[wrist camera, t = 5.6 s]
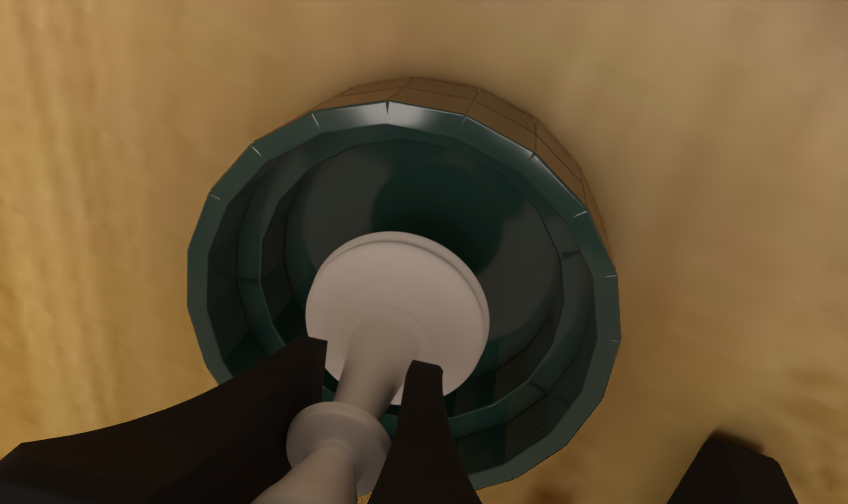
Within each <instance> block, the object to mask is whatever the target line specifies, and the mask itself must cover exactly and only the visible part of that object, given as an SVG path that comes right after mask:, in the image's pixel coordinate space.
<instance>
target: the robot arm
mask: <svg viewBox="0 0 848 504" xmlns="http://www.w3.org/2000/svg"><path fill="white" fill-rule="evenodd" d="M327 344H328V341H327V340H322V339H318V338H313V337H309V336H304V335H301V336H300V337H298V338H297V339H295V340H293V341H292V342H290V343H288V344H287V345H285V346H284V347H282V348H281V349H279V350H278V351H276V352H275V353H273V354H271V355H270V356H268V357H267V358H265V359H264V360H262V361H260V362H259V363H257V364H256V365H254V366H252V367H251V368H249V369H247V370H246V371H244V372H242V373H241V374H239V375H237V376H235V377H233V378H232V379H230V380H228V381H226V382H224V383H222V384H220V385H219V386H217V387H215V388H213V389H211V390H209V391H207V392H205V393H203V394H201V395H198V396H196V397H194V398H192V399H189V400H187V401H185V402H182V403H180V404H177V405H175V406H173V407H170V408H167V409H165V410H162V411H158V412H155V413H152V414H149V415H146V416H143V417H140V418H137V419H134V420H131V421H128V422H125V423H121V424H117V425H114V426H110V427H106V428H102V429H98V430H93V431H89V432H85V433H80V434H75V435H69V436H63V437H57V438H51V439H45V440H39V441H33V442H25V443H21V444H19V445H18V446H17V447H16V448H14V449H13V450H12V451H11V452H10V453H8V454H7V455H6V456H5V457H4V458H3V459H1V460H0V504H251V503H252V502H253V501H254V500H255V499H256V498H257V497H258V496H259V495H260V494H261V493H263V492H264V491H265V490H266V489H267V488H269V487H270V486H272V485H274V484H276V483H277V482H278V481H279V480H281V479H282V478H283V477H284V476H285V475H286V474H287V473H288V472H289V471H290V470H291V469H292V467H291V465H290V463H289V461H288V458H287V453H286V441H287V432H288V429H289V426H290V424H291V422H292V420H293V419H294V417H295V416H296V415H297V414H298V413H299V412H300V411H302V410H303V409H305V408H307V407H308V406H311V405H313V404H317V403H321V400H322V391H323V381H324V372H325V363H326V353H327ZM442 378H443V370H442V368H441V367H440V365H436V364H431V363H427V362H422V361H418V360H412V362H411V364H410V366H409V368H408V371H407V373H406V377H405V382H404V388H403V394H402V399H401V405H400V411H399V416H398V422H397V427H396V431H395V435H394V439H393V441H392V444H391V447H390V449H389V452H388V455H387V457H386V460H385V463H384V465H383V468H382V470H381V473H380V475H379V478H378V480H377V483H376V485H375V487H374V490H373V492H372V494H371V496H370V499H369V501H368V503H367V504H482V502H481V501H480V499H479V497H478V496H477V494H476V492H475V490H474V488H473V486H472V484H471V482H470V480H469V477H468V475H467V473H466V471H465V469H464V466H463V464H462V461H461V459H460V456H459V453H458V451H457V448H456V445H455V442H454V439H453V435H452V432H451V428H450V425H449V420H448V416H447V412H446V407H445V402H444V395H443V384H442Z"/></svg>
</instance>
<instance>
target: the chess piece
mask: <svg viewBox="0 0 848 504" xmlns="http://www.w3.org/2000/svg"><path fill="white" fill-rule="evenodd" d="M306 327H307V332H308V336H309V337H313V338H318V339H322V340H327V341H328V344H327V353H326V363H325V368H326V369H327V370H328V371H329V373H330V374H331V375H332V376H333V377H334V378H336V379H337V380H338V381H339V383H338V387H337V390H336V393H335V397H334V399H333V402H321V403H317V404H313V405H311V406H308V407H307V408H305V409H303V410H302V411H300V412H299V413H298V414H297V415H296V416H295V417H294V419H293V420H292V422H291V424H290V426H289V429H288V432H287V441H286V453H287V458H288V461H289V463H290V465H291V467H292V469H291V470H290V471H289V472H288V473H287V474H286V475H285V476H284V477H283V478H282V479H281V480H279V481H278V482H277V483H276V484H274V485H272V486H270V487H269V488H267V489H266V490H265V491H264V492H263V493H261V494H260V495H259V496H258V497H257V498H256V499H255V500H254V501H253V502H252V503H251V504H357V497H360V496H363V495H366V494H368V493H370V492H372V491H373V490H374V487H375V485H376V483H377V480H378V478H379V475H380V473H381V470H382V468H383V465H384V463H385V460H386V457H387V455H388V452H389V449H390V447H391V444H392V442H391V439H390V437H389V435H388V433H387V432H386V430H385V429H384V427H383V426H382V425H381V424H380V421H381V419H382V417H383V415H384V414H385V412H386V410H387V409H388V407H389V405H390V404H394V405H401V399H402V394H403V388H404V382H405V377H406V373H407V371H408V368H409V366H410V364H411V362H412V360H418V361H422V362H427V363H431V364H436V365H440V367H441V368H442V370H443V378H442V384H443V395H444V396H445V395H447V394H449V393H450V392H452V391H453V390H455V389H456V388H457V387H459V386H460V385H461V384H462V383H463V382H464V381H465V380H466V379H467V378H468V377H469V376H470V374H471V373H472V372H473V370H474V368H475V367H476V365H477V363H478V361H479V359H480V357H481V355H482V353H483V351H484V348H485V345H486V342H487V339H488V334H489V310H488V304H487V301H486V297H485V295H484V292H483V290H482V287H481V285H480V283H479V282H478V280H477V278H476V277H475V275H474V274H473V272H472V271H471V270H470V269H469V267H468V266H467V265H466V264H465V263H464V262H463V261H462V260H461V259H460V258H459V257H458V256H456V255H455V254H454V253H453V252H451V251H450V250H448V249H447V248H445V247H444V246H442V245H440V244H439V243H437V242H435V241H432V240H430V239H428V238H425V237H422V236H419V235H415V234H411V233H405V232H394V231H386V232H376V233H371V234H366V235H363V236H360V237H357V238H355V239H353V240H350V241H349V242H347V243H345V244H343V245H342V246H340V247H339V248H338V249H336V250H335V251H334V252H333V253H332V254H331V255H330V256H329V257H328V258H327V259H326V260H325V261H324V263H323V264H322V266H321V267H320V269H319V270H318V272H317V274H316V276H315V279H314V282H313V284H312V286H311V289H310V292H309V295H308V299H307V304H306Z"/></svg>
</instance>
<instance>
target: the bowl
mask: <svg viewBox="0 0 848 504" xmlns="http://www.w3.org/2000/svg"><path fill="white" fill-rule="evenodd" d="M386 231H394V232H405V233H411V234H415V235H419V236H422V237H425V238H428V239H430V240H432V241H435V242H437V243H439V244H440V245H442V246H444V247H445V248H447V249H448V250H450V251H451V252H453V253H454V254H455V255H456V256H458V257H459V258H460V259H461V260H462V261H463V262H464V263H465V264H466V265H467V266H468V267H469V269H470V270H471V271H472V272H473V274H474V275H475V277H476V278H477V280H478V282H479V283H480V285H481V287H482V290H483V292H484V295H485V297H486V301H487V304H488V310H489V334H488V339H487V342H486V345H485V348H484V351H483V353H482V355H481V357H480V359H479V361H478V363H477V365H476V367H475V368H474V370H473V372H472V373H471V374H470V376H469V377H468V378H467V379H466V380H465V381H464V382H463V383H462V384H461V385H460V386H459V387H457V388H456V389H455V390H453V391H452V392H450V393H449V394H447V395H445V396H444V402H445V407H446V412H447V416H448V420H449V425H450V428H451V432H452V435H453V439H454V442H455V445H456V448H457V451H458V453H459V456H460V459H461V461H462V464H463V466H464V469H465V471H466V473H467V475H468V477H469V480H470V482H471V484H472V486H473V488H474V490H479V489H482V488H486V487H489V486H493V485H496V484H500V483H503V482H507V481H510V480H513V479H515V478H518V477H519V476H521V475H522V474H524V473H525V472H527V471H528V470H530V469H531V468H533V467H535V466H536V465H538V464H539V463H541V462H542V461H544V460H545V459H547V458H548V457H550V456H551V455H553V454H555V453H556V452H558V451H559V450H561V449H562V448H563V447H564V446H566V445H567V444H568V443H569V441H570V440H571V439H572V438H573V436H574V435H575V434H576V432H577V431H578V430H579V429H580V427H581V426H582V425H583V423H584V422H585V421H586V420H587V418H588V417H589V416H590V415H591V413H592V412H593V411H594V409H595V408H596V407H597V406H598V404H599V403H600V402H601V400H602V398H603V396H604V393H605V390H606V387H607V384H608V381H609V377H610V374H611V371H612V368H613V365H614V362H615V358H616V355H617V352H618V349H619V346H620V342H621V325H620V309H619V293H618V276H617V272H616V268H615V264H614V260H613V256H612V252H611V249H610V245H609V241H608V237H607V233H606V229H605V226H604V222H603V218H602V216H601V214H600V212H599V209H598V207H597V205H596V203H595V200H594V198H593V196H592V193H591V191H590V189H589V187H588V184H587V182H586V180H585V178H584V175H583V173H582V171H581V168H580V167H579V166H578V164H577V163H576V162H575V161H574V160H573V159H572V158H571V157H570V155H569V154H568V153H567V152H566V151H565V150H564V149H563V148H562V147H561V146H560V145H559V144H558V143H557V141H556V140H555V139H554V138H553V137H552V136H551V135H550V134H549V133H548V132H547V131H546V130H545V129H544V127H543V126H542V125H541V124H540V123H539V122H538V121H535V120H534V119H533V118H532V117H530V116H528V115H526V114H525V113H523V112H521V111H519V110H517V109H515V108H514V107H512V106H510V105H508V104H506V103H504V102H503V101H501V100H499V99H497V98H495V97H493V96H492V95H490V94H488V93H486V92H484V91H482V90H478V89H477V88H473V87H468V86H462V85H457V84H451V83H446V82H440V81H435V80H429V79H424V78H416V79H415V78H407V79H400V80H393V81H386V82H379V83H373V84H366V85H359V86H356V87H353V88H350V89H348V90H346V91H344V92H342V93H340V94H338V95H336V96H334V97H333V98H331V99H329V100H327V101H325V102H323V103H321V104H319V105H317V106H316V107H314V108H312V109H310V110H308V111H306V112H304V113H302V114H301V115H299V116H297V117H295V118H294V119H292V120H290V121H288V122H287V123H285V124H283V125H281V126H280V127H278V128H276V129H274V130H273V131H271V132H269V133H267V134H266V135H264V136H262V137H260V138H259V139H257V140H255V141H254V142H253V143H252V144H250V145H249V146H248V147H247V149H246V150H245V151H244V152H243V153H242V154H241V155H240V157H239V158H238V159H237V160H236V161H235V162H234V163H233V164H232V166H231V167H230V168H229V169H228V170H227V171H226V172H225V173H224V175H223V176H222V177H221V178H220V179H219V180H218V181H217V183H216V184H215V185H214V186H213V187H212V188H211V191H210V192H209V193H208V196H207V199H206V201H205V204H204V207H203V209H202V212H201V215H200V217H199V220H198V223H197V225H196V228H195V231H194V233H193V236H192V239H191V241H190V244H189V248H188V263H187V308H188V312H189V315H190V318H191V321H192V324H193V327H194V331H195V334H196V337H197V340H198V343H199V346H200V349H201V352H202V356H203V359H204V362H205V364H206V367H207V368H208V370H209V371H210V373H211V374H212V376H213V377H214V379H215V380H216V382H217V383H218V385H220V384H222V383H224V382H226V381H228V380H230V379H232V378H233V377H235V376H237V375H239V374H241V373H242V372H244V371H246V370H247V369H249V368H251V367H252V366H254V365H256V364H257V363H259V362H260V361H262V360H264V359H265V358H267V357H268V356H270V355H271V354H273V353H275V352H276V351H278V350H279V349H281V348H282V347H284V346H285V345H287V344H288V343H290V342H292V341H293V340H295V339H297V338H298V337H300V336H301V335H304V336H308V332H307V327H306V304H307V299H308V295H309V292H310V289H311V286H312V284H313V282H314V279H315V276H316V274H317V272H318V270H319V269H320V267H321V266H322V264H323V263H324V261H325V260H326V259H327V258H328V257H329V256H330V255H331V254H332V253H333V252H334V251H335V250H336V249H338V248H339V247H340V246H342V245H343V244H345V243H347V242H349V241H350V240H353V239H355V238H357V237H360V236H363V235H366V234H371V233H376V232H386ZM338 383H339V381H338V380H337V379H336V378H334V377H333V376H332V375H331V374H330V373H329V371H328V370H327V369H326V368H325V372H324V381H323V391H322V400H321V402H333V399H334V397H335V393H336V390H337V387H338ZM399 411H400V405H394V404H390V405H389V407H388V409H387V410H386V412H385V414H384V415H383V417H382V419H381V421H380V424H381V425H382V426H383V427H384V429H385V430H386V432H387V433H388V435H389V437H390V439H391V442H392V441H393V439H394V435H395V431H396V427H397V422H398V416H399Z"/></svg>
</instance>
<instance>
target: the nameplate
mask: <svg viewBox="0 0 848 504" xmlns="http://www.w3.org/2000/svg"><path fill="white" fill-rule="evenodd" d="M668 504H798V502H797V500H796V498H795V496H794V494H793V492H792V490H791V488H790V486H789V483H788V481H787V479H786V477H785V475H784V473H783V471H782V469H781V467H780V465H779V464H778V462H777V461H775V460H774V459H773V458H770V457H767V456H764V455H762V454H759V453H756V452H753V451H750V450H747V449H745V448H742V447H739V446H736V445H733V444H730V443H728V442H725V441H722V440H719V439H712V440H709V441H708V442H707V443H706V444H705V445H704V446H703V447H702V448H701V450H700V451H699V453H698V455H697V456H696V458H695V460H694V461H693V463H692V465H691V466H690V468H689V470H688V471H687V473H686V474H685V476H684V478H683V479H682V481H681V483H680V484H679V486H678V487H677V489H676V491H675V492H674V494H673V496H672V497H671V499H670V500H669V502H668Z"/></svg>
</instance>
